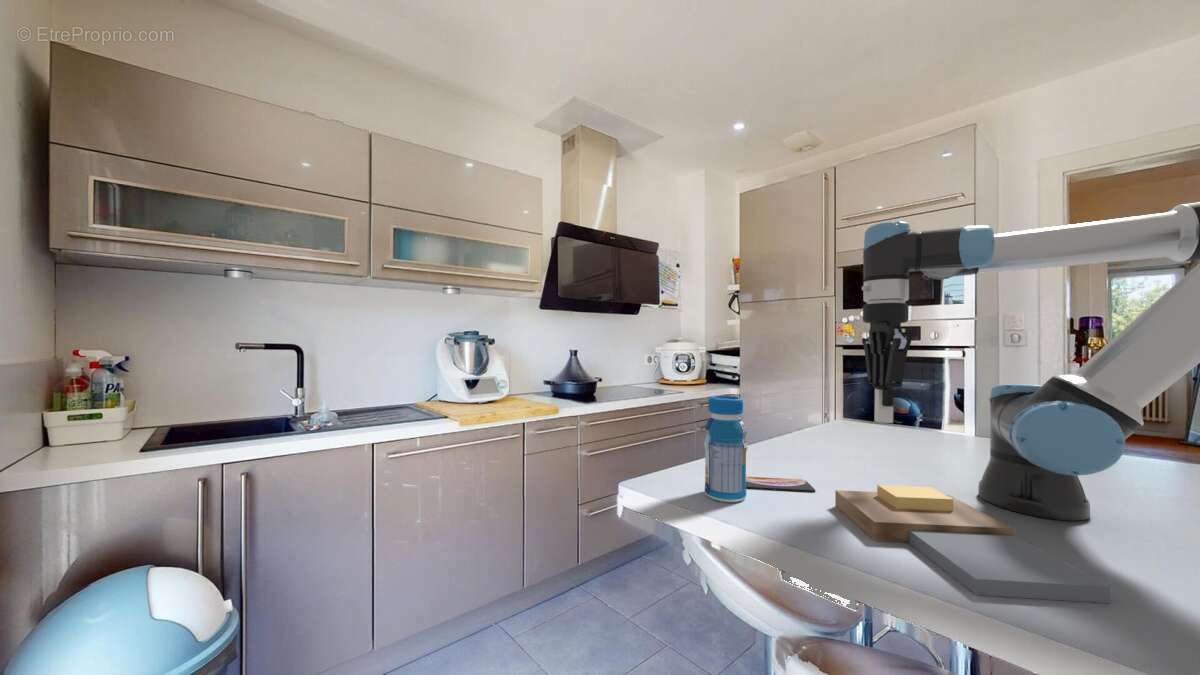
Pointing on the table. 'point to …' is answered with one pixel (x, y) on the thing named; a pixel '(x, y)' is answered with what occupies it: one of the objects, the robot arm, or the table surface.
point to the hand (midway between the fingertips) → (883, 421)
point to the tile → (914, 497)
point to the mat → (1007, 567)
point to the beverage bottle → (725, 450)
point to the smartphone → (778, 484)
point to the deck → (913, 518)
